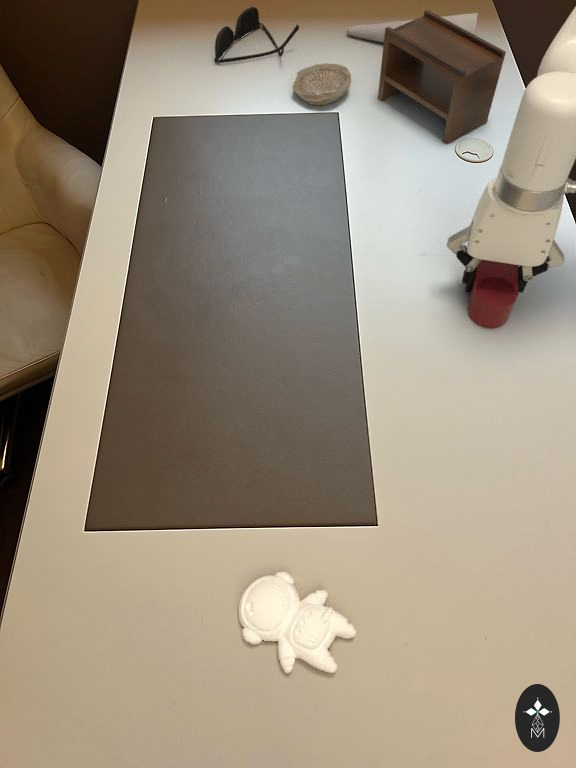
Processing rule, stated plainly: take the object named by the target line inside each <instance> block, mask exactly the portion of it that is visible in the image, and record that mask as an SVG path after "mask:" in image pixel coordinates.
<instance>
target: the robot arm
mask: <svg viewBox="0 0 576 768" xmlns="http://www.w3.org/2000/svg"><path fill="white" fill-rule="evenodd" d="M575 161H576V6H575V7H574V8H573V10H572V11H571V12H570V13H569V15H568V17H567V19H566V20H565V22H563V24H562V26H561V27H560V29H559V30H558V32H557V33H556V35H555V36H554V38H553V39H552V41H551V43H550V44H549V47H548V48H547V49H546V52H545V54H544V55H543V57H542V60H541V62H540V65H539V67H538V70H537V75H536V76H535V78H533V79H532V80H531V81H530V82H529V84H528V85H527V86H526V88H525V89H524V92H523V95H522V97H521V100H520V103H519V106H518V109H517V112H516V116H515V119H514V122H513V126H512V129H511V131H510V135H509V139H508V142H507V145H506V148H505V151H504V155H503V158H502V161H501V165H500V167H499V170H498V174H497V177H494V178H492V179H491V180H489V182H488V183H487V185H486V186H485V188H484V190H483V192H482V194H481V196H480V198H479V200H478V203H477V204H476V208H475V210H474V213H473V215H472V218H471V221H470V225H468V226H466V227H465V228H463V229H461V230H459V231H457V232H456V233H454V234H452V235H451V236H449V237H448V238H447V240H446V247H447V248H448V249H449V250H450V251H451V252H452V254H454V255H455V256H456V258H457V260H458V261H459V262H460V263H461V264H462V265H463V266H464V271H463V275H462V279H461V284H465V290H464V291H465V292H464V293H465V294H469V292H471V289H472V286H473V283H474V280H475V277H476V274H477V266H478V265H479V264H480V263H481V262H482V261H483V260H489V261H495V262H501V263H508V264H514V265H519V268H518V294H517V297H518V296H519V294H520V293H524V292H525V288H526V286H527V284H528V282H530V281H532V280H533V278H534V277H536V276H538V275H541V274H543V273H545V272H547V271H548V269H553V268H557V267H559V266H561V265H564V264H565V254H564V252H563V251H562V250H561V248H560V247H559V245H558V243H557V242H556V240H555V237H556V233H557V231H558V226H559V224H560V220H561V215H562V210H563V204H564V199H565V194H569V193H571V194H575V193H576V180H572V179H571V178H569V177H570V176H569V175H570V173H571V171H572V168H573V166H574V164H575ZM465 243H467V245H465Z"/></svg>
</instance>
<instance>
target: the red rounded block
mask: <svg viewBox="0 0 576 768" xmlns="http://www.w3.org/2000/svg"><path fill="white" fill-rule="evenodd" d="M519 267H520V265H514V264H508V263H501V262H495V261H489V260H483V261H482V262H481V263H480V264H479V265H478V266H477V274H476V277H475V280H474V283H473V286H472V289H471V292H469V293H468V302H467V303H468V304H467V315H468V317H469V318H470V320H471V321H472V322H473V323H474V324H476V325H478V326H480V327H482V328H486V329H496V328H501V327H502V326H504V325H505V324H506V323H507V322H508V320H509V318H510V316H511V313H512V311H513V308H514V306H515V304H516V301H517V299H518V296H517V294H518V268H519ZM518 295H519V294H518Z"/></svg>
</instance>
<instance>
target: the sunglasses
mask: <svg viewBox="0 0 576 768" xmlns="http://www.w3.org/2000/svg"><path fill="white" fill-rule="evenodd" d="M260 26H261V27H260ZM257 27H259V28H262V27H263V28H262V29H263V30H264V32H265V31H266V32H265V33H266V35H267V34H268V35H269V36H268V35H267V36H268V38H269V37H270V38H271V39H270V38H269V39H270V41H271V40H272V41H273V42H272V41H271V42H272V44H273V43H274V44H273V46H274V45H275V46H276V48H277V49H276V48H275V49H273V50H269V51H265V52H261V53H260V52H259V53H255V54H249V55H243V56H236V57H227V58H221V59H220V60H219V58H220V57H221V56H222V55H223V53H224V52H225V51H226V50H227V49H228V48H229V47H230V46H231V47H232V45H233V44H234V42H235V40H236V41H238V40H240V39H242V38H241V37H242V36H244V35H245V34H247V33H249V32H251V31H253V30H254V29H256V28H257ZM257 29H258V28H257ZM257 29H256V30H257ZM299 30H300V26H299V24H296V25H295V26H294V28H293V29H292V31H291V32H290V34H288V36H287V38H286V39H285V40H284V42H283V43H282V44H281V45H280V46H279V45H278V44H277V43H276V41H275V39H274V37H273V36H272V34H271V33H270V31H269V30H268V29H267V27H266V26H265V25H264V23H261V22H260V15H259V9H258V8H257V7H255V6H251V7H248V8H246V9H244V10H243V11H242V12H241V13H240V14H239V16H238V17H237V20H236V24H235V29H234V31H233V30H232V28H231V27H230V26H228V25H224V27H222V28H221V29H220V30H219V31H218V32H217V35H216V38H215V43H214V58H213V60H214V63H216V64H217V63H218V64H223V63H224V62H225V63H232V62H239V61H245V60H250V59H251V58H252V59H256V58H257V59H258V58H262V57H267V56H270V55H273V54H275V53H277V54H278V53H279V54H278V56H279V57H282V56H283V54H284V52H285V47H286V46H287V44H288V43H289V42H290V41H291V40H292V38H293V37H294V36H295V34H296V33H298V31H299ZM253 32H254V31H253ZM239 38H240V39H239ZM237 39H238V40H237ZM231 44H232V45H231ZM275 46H274V47H275ZM231 47H230V48H231ZM230 48H229V49H230ZM229 49H228V50H229Z"/></svg>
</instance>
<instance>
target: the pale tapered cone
mask: <svg viewBox="0 0 576 768" xmlns="http://www.w3.org/2000/svg"><path fill="white" fill-rule="evenodd" d="M441 17H442V18H444V19H446V20H448V21H450V22H451V23H453V24H455V25H457V26H459V27H461V28H463V29H465V30H466V31H468V32H470V33H472V34H474V35H476V36H477V27H478V19H479V12H472V13H471V12H470V13H462V14H461V13H460V14H453V15H446V16H443V15H442V16H441ZM413 20H414V19H407V20H398V21H397V20H396V21H388V22H387V21H386V22H379V23H370V24H358V25H353V26H349V27H347V29H346V34H347V35H348V36H350V37H353V38H354V37H355V38H358V39H362V40H363V39H364V40H367V41H373V42H379V43H382V44H384V35H385V28H386V27H390V28H392V29H395V28H397V27H399V26H401V25H404V24H406V23H408V22H411V21H413Z"/></svg>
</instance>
